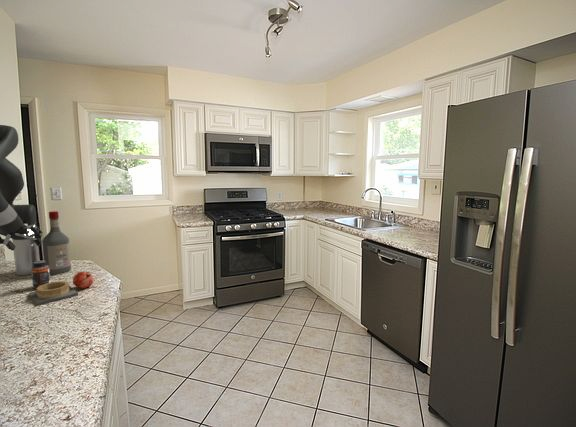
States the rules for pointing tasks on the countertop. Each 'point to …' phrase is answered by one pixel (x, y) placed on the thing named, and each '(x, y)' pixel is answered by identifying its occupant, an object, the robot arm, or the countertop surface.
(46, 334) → the countertop surface
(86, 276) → the pomegranate
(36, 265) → the supplement bottle
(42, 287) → the ring board
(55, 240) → the liquor
